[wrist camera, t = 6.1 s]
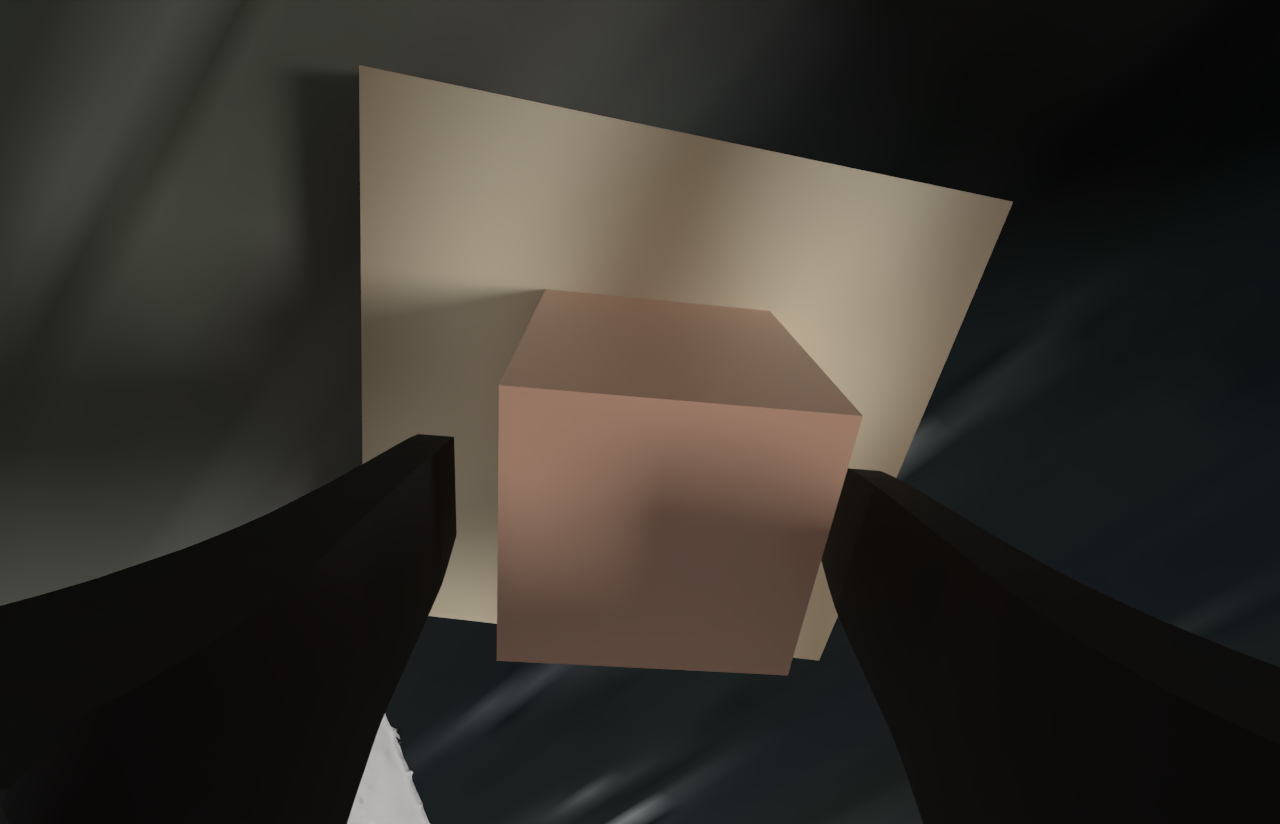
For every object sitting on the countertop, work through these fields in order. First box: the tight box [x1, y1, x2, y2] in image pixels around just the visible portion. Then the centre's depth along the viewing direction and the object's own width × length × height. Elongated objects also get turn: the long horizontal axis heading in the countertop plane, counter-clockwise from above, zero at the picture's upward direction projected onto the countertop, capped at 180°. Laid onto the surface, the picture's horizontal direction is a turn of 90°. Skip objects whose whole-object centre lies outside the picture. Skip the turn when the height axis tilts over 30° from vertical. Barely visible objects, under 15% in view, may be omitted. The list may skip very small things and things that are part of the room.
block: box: [497, 289, 863, 675], centre depth 10 cm, size 4×4×5 cm
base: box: [359, 65, 1013, 660], centre depth 14 cm, size 12×12×2 cm
